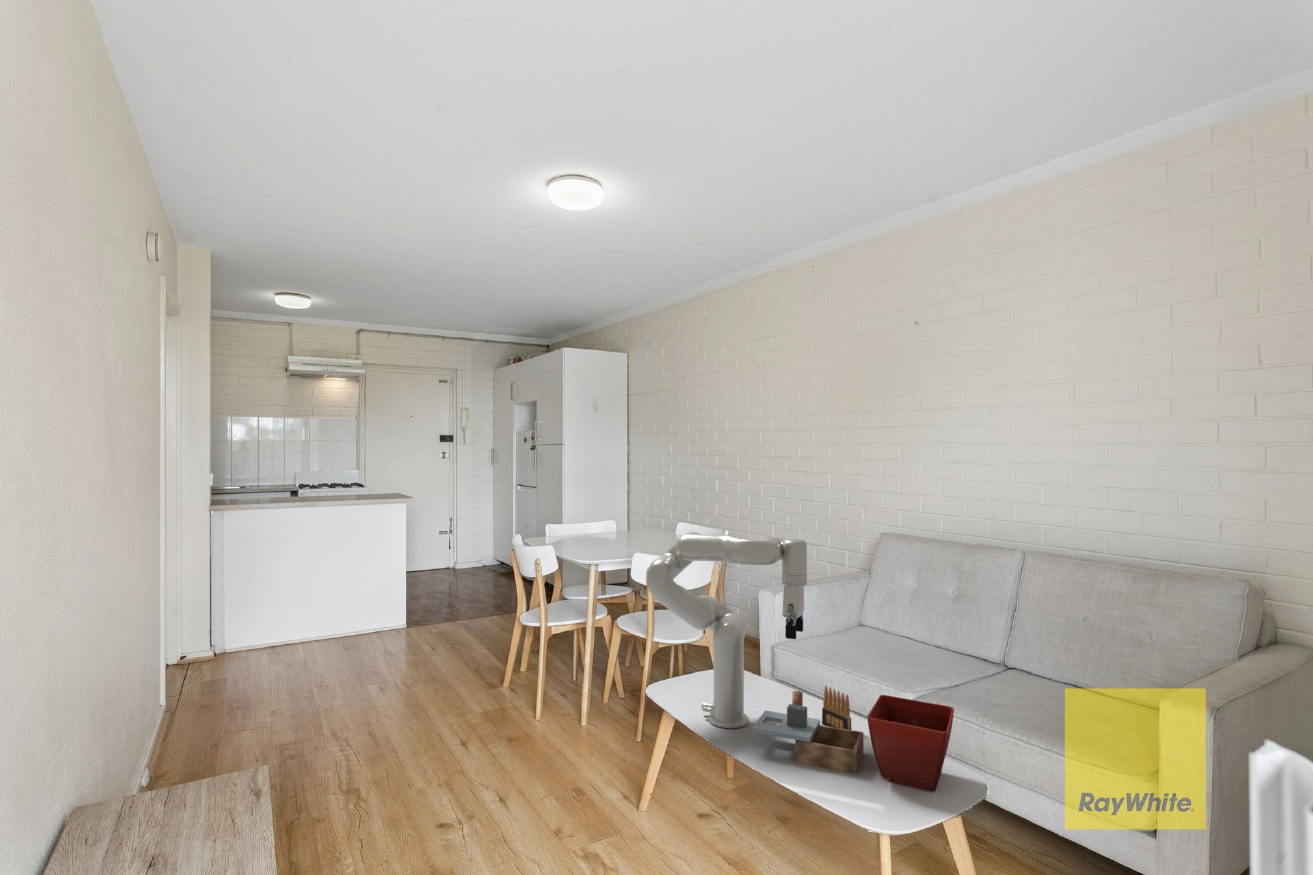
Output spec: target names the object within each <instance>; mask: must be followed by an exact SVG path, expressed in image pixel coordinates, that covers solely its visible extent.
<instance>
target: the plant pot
mask: <svg viewBox="0 0 1313 875" xmlns="http://www.w3.org/2000/svg"><path fill="white" fill-rule="evenodd" d="M954 716H955V708H954V707H953V706H949V705H944V704H938V703H933V702H932V703H931V702H928V701H927V702H926V701H921V700H916V699H915V700H914V699H910V698H904V697H899V696H893V695H886V694H879V696H878V699H877V700H876V701H875V703H874V705H873V706H872V708H871V710H870V711H869V713H868V715H867V716H866V717H867V726H868V731H869V737H870V742H871V745H872V751H873V754H874V758H875V761H876V764H877V767H878V770H879V773H880V776H881V777H882V778H883V779H886V780H888V782H889V783H893V784H897V785H902V786H905V787H911V788H914V789H917V790H918V789H919V790H921V791H922V790H923V791H927V792H932V793H933V792H934V793H935V792H936V790H937V788H938V786H939V781H940V777H941V775H942V771H943V767H944V762H945V760H946V756H947V751H948V747H949V744H950V738H951V733H952V729H953V722H954Z"/></svg>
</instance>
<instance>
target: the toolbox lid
mask: <svg viewBox="0 0 1313 875" xmlns="http://www.w3.org/2000/svg"><path fill="white" fill-rule="evenodd" d="M766 722H771V723H778V724H771V723H766ZM819 725H821V719H819V718H812V717H808V706H804V705H803V706H799V705H792V703H789V704H788V705H787V707H786V713H783V712H777V711H776V712H775V711H770V710H764V712H762V714H761V716H760V717H759V718H758V719H757V720H756V722H755V723H754V725H753V726H752V727H751V732H752V733H756V734H762V735H766V736H772V737H778V738H782V739H787V740H788V739H789V740H794V741H795V740H799V741H805V742H811V740H812V738H813V736H814V734H815V732H816V730H817V728H818V727H819Z"/></svg>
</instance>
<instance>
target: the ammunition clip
mask: <svg viewBox="0 0 1313 875" xmlns="http://www.w3.org/2000/svg"><path fill="white" fill-rule="evenodd" d="M822 700H823V702H822V704H823V706H822V709H821V725H824V726H830V727H836V728H842V729H848V730H852V717H851V708H850V697H849V695H848V694H846V695H845V694H844V692H841V694H840V690H838V691H837V692H836V689H835V688H834V689H833V690H832V688H831V687H829V688H828V686H827V685H825V686H824V690H823V699H822Z"/></svg>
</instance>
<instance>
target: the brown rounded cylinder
mask: <svg viewBox="0 0 1313 875" xmlns="http://www.w3.org/2000/svg"><path fill="white" fill-rule="evenodd" d="M791 695H792V697H791V698H792V699H791V700H792V703H791V704H792V705H799V706H804V705H803V704H804V702H803V701H804V700H803V691H800V690H794V691H793V690H792V694H791Z"/></svg>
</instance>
